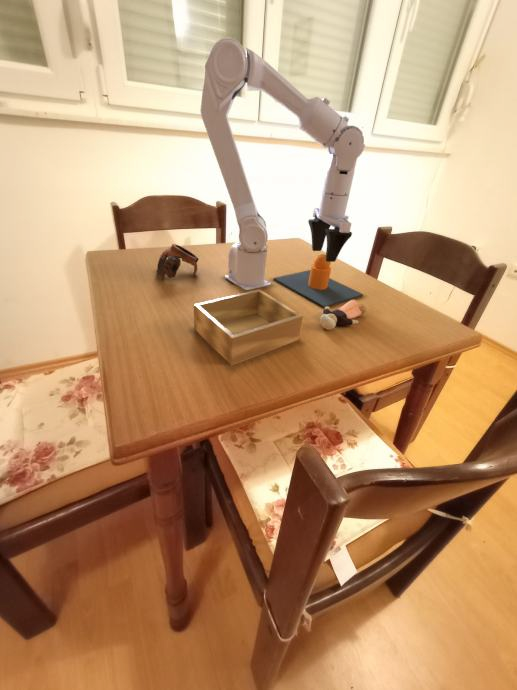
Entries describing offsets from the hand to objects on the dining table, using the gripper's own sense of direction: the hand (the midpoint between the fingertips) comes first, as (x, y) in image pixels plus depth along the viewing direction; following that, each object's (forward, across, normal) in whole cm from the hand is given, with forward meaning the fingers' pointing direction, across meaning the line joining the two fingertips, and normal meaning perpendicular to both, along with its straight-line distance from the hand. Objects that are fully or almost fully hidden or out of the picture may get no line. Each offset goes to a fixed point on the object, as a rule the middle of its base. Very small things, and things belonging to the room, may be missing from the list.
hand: (323, 255), depth 75 cm
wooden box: (+8, -20, +24) cm, 32 cm away
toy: (+8, 0, 0) cm, 8 cm away
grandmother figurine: (+7, -14, -2) cm, 15 cm away
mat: (+8, 0, 0) cm, 8 cm away
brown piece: (+8, +11, +34) cm, 37 cm away
